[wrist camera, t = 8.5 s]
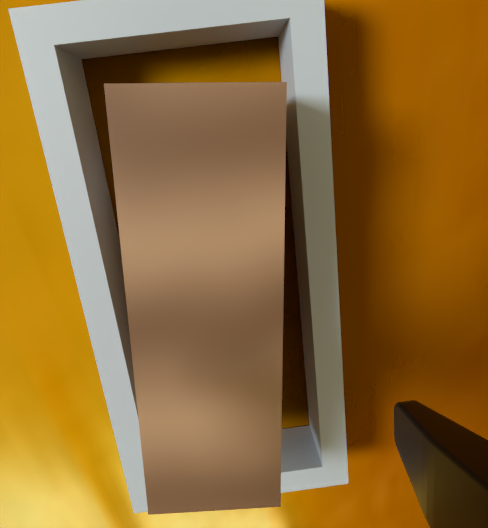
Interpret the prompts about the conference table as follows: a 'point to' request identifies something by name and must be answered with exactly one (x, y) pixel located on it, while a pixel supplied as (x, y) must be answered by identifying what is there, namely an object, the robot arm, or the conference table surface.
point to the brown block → (204, 285)
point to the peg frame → (101, 211)
